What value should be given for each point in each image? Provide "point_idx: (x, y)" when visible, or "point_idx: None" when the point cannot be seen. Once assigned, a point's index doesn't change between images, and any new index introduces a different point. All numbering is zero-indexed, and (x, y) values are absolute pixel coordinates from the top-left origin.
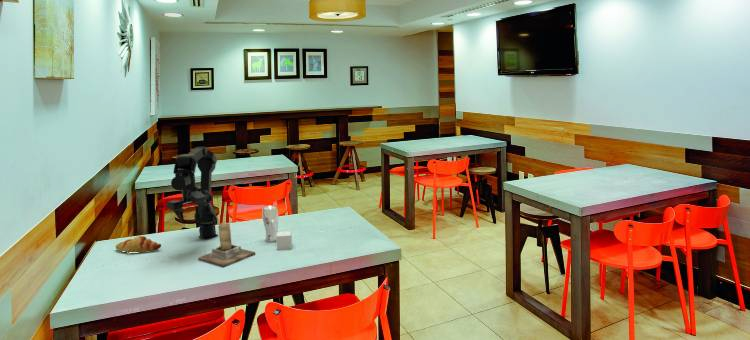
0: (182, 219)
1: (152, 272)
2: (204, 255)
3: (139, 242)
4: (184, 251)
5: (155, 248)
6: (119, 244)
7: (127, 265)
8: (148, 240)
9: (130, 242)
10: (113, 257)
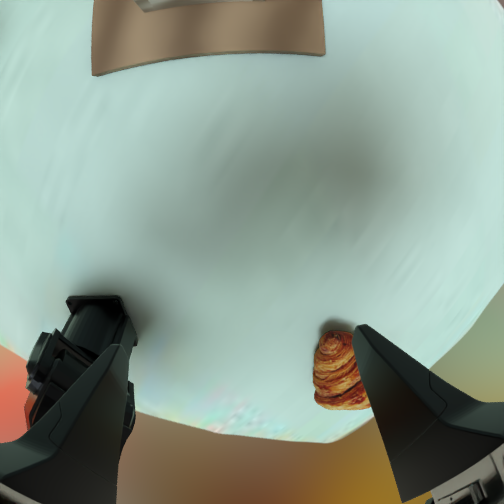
0: (394, 351)
1: (475, 135)
2: (284, 46)
3: None
4: (280, 236)
5: (344, 333)
6: None
7: (452, 271)
8: (350, 377)
9: None
10: None
